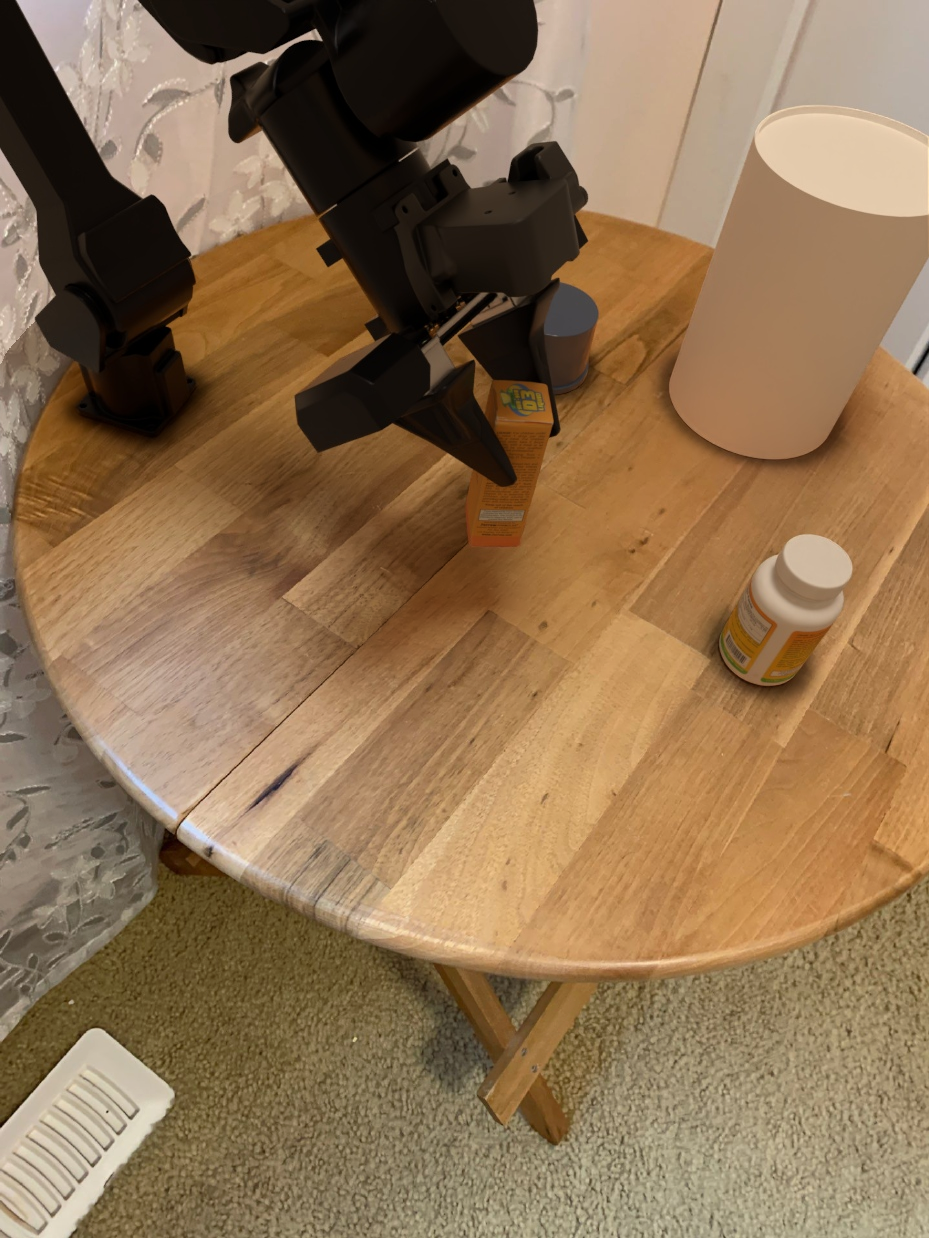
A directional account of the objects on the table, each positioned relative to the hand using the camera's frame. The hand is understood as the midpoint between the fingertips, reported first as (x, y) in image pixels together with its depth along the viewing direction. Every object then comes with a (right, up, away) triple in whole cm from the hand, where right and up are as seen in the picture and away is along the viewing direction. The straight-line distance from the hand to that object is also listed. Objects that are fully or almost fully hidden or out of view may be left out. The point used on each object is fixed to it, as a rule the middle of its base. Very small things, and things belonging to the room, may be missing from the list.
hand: (531, 459), depth 48 cm
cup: (+3, +12, +25) cm, 28 cm away
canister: (+20, +9, +25) cm, 33 cm away
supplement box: (-2, -3, +6) cm, 7 cm away
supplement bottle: (+16, -11, +11) cm, 22 cm away
